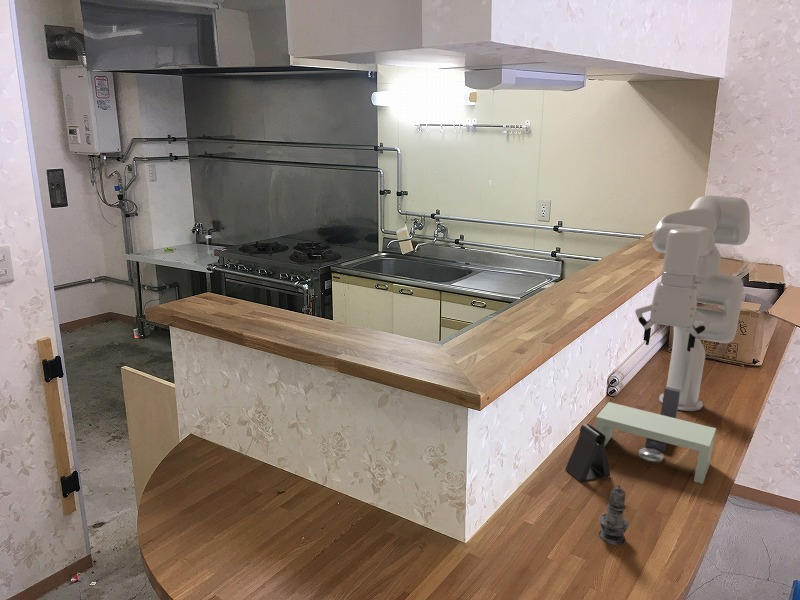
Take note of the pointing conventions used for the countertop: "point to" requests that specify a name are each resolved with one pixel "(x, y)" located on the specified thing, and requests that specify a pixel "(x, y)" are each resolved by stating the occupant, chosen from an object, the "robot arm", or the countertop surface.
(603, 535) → the grey tall tapered piece
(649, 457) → the steel disc
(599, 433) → the black wedge-shaped stand
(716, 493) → the countertop surface
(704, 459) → the low shelf
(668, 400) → the gray l-shaped block
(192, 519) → the countertop surface
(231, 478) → the countertop surface
